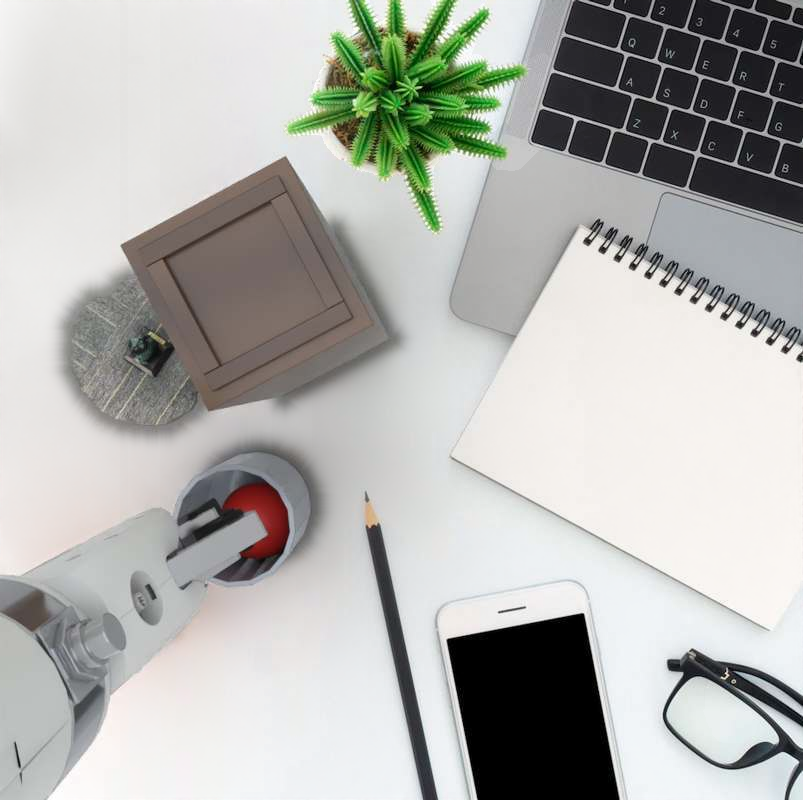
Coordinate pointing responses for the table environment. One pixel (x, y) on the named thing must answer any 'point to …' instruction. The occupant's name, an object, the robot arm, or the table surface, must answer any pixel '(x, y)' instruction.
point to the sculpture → (129, 359)
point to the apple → (262, 516)
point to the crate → (255, 290)
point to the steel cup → (229, 478)
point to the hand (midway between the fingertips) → (143, 567)
